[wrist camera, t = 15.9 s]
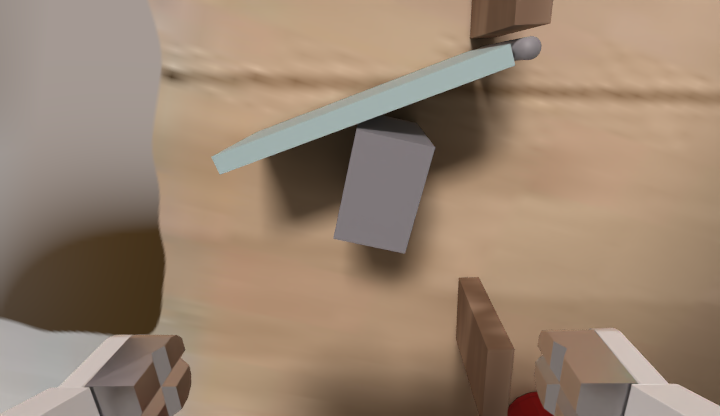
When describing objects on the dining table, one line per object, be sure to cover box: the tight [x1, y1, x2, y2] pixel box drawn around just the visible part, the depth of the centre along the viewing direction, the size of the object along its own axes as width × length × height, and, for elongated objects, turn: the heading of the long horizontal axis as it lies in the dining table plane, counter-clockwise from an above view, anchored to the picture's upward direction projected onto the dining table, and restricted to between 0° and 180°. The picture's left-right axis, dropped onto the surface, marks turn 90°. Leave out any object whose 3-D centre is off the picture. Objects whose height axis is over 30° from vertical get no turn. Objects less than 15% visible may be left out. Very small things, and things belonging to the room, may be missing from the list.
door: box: [212, 36, 541, 174], centre depth 23 cm, size 1×17×8 cm, turn 110°
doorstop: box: [333, 115, 435, 254], centre depth 24 cm, size 4×6×9 cm, turn 168°
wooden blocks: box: [456, 0, 553, 416], centre depth 25 cm, size 2×29×9 cm, turn 3°
